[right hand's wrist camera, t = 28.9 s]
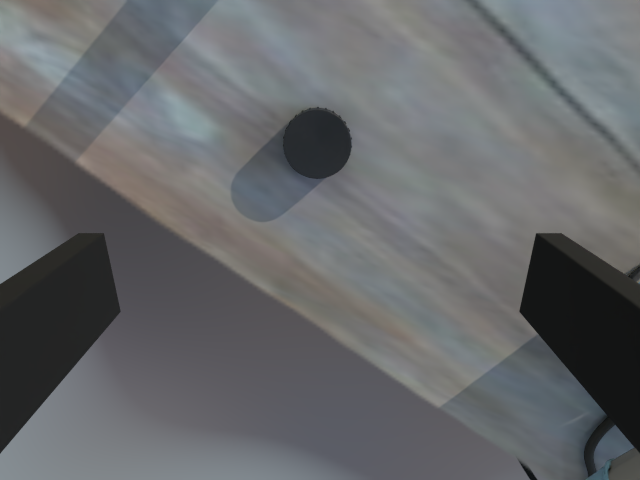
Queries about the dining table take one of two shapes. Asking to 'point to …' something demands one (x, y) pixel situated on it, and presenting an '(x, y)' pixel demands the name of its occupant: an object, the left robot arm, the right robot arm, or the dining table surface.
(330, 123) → the lid
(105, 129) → the dining table surface
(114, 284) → the right robot arm
